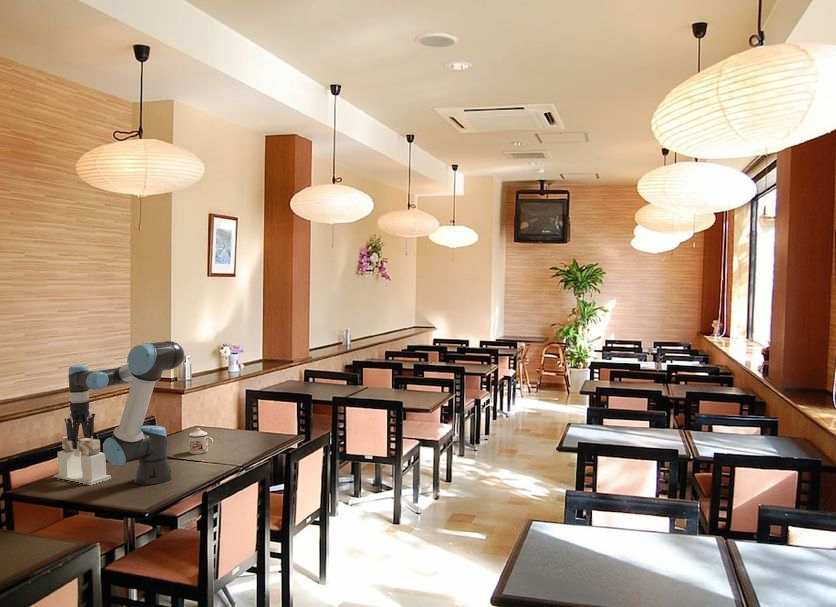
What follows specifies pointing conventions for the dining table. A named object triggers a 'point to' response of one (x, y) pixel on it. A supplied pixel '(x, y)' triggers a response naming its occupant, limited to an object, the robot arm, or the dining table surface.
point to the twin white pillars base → (82, 468)
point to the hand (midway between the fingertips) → (81, 454)
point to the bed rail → (83, 445)
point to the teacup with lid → (199, 442)
